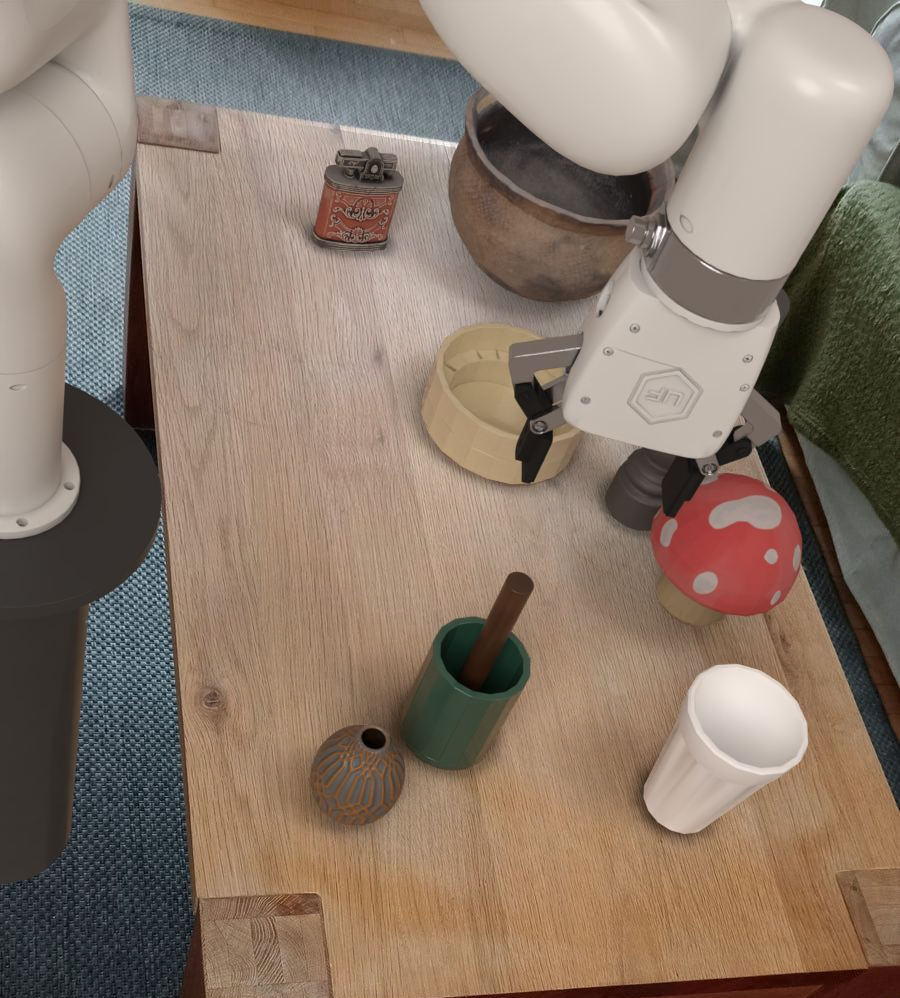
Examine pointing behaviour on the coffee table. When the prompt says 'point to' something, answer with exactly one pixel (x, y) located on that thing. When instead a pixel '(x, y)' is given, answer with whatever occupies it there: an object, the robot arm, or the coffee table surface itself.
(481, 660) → the stick
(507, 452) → the mixing bowl
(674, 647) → the coffee table surface
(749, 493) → the decorative mushroom
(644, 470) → the candle holder
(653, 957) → the coffee table surface
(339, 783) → the vase
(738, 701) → the cup
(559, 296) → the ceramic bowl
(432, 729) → the crock
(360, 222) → the lighter
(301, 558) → the coffee table surface
